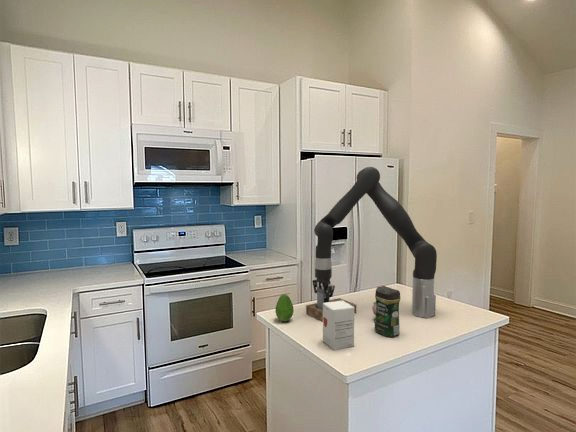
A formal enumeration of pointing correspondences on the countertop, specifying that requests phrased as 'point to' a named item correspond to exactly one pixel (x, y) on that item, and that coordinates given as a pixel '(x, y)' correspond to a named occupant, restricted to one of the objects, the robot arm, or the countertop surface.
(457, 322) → the countertop surface
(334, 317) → the supplement box
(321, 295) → the plug
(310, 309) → the socket block
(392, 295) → the coffee jar
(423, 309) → the robot arm
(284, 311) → the avocado
